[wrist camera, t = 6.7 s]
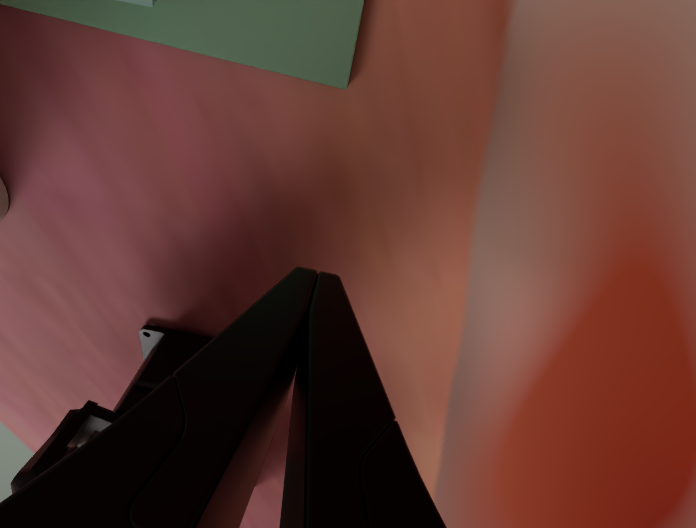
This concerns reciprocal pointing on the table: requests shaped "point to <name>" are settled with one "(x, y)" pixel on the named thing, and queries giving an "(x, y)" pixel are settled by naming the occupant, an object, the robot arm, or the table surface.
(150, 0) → the domino
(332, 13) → the baize strip
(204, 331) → the table surface
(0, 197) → the coffee cup
